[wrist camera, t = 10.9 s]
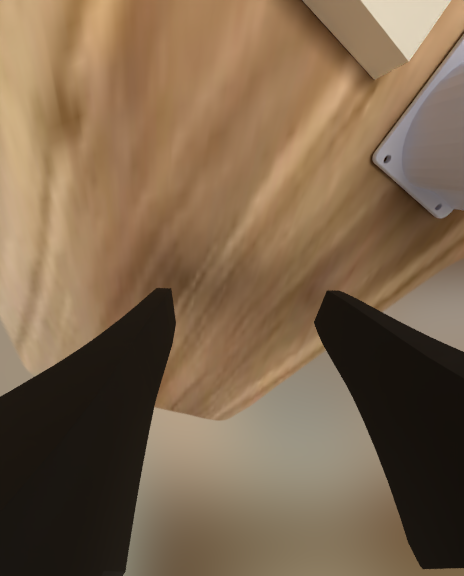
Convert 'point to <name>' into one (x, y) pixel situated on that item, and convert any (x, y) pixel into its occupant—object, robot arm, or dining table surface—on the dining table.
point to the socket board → (379, 28)
